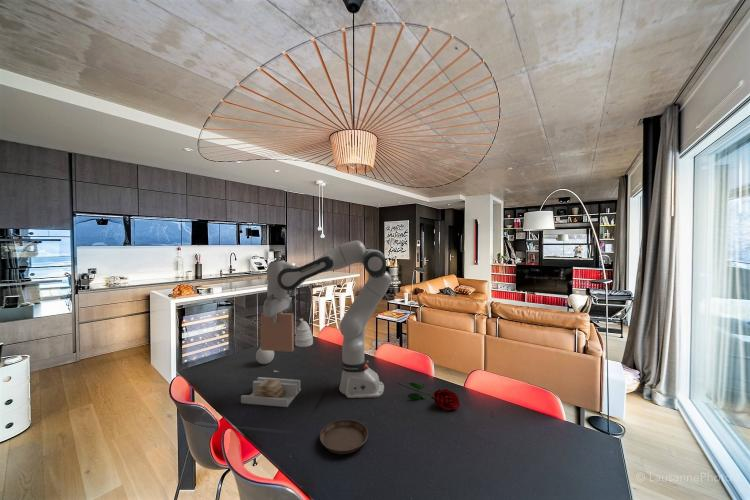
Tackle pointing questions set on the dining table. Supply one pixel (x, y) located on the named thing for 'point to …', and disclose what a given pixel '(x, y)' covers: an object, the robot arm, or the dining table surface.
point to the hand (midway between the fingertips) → (277, 321)
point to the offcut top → (269, 385)
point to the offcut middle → (270, 393)
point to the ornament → (264, 356)
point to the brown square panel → (277, 333)
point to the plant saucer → (343, 436)
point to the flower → (438, 397)
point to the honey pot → (303, 335)
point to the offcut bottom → (280, 395)
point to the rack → (290, 390)
